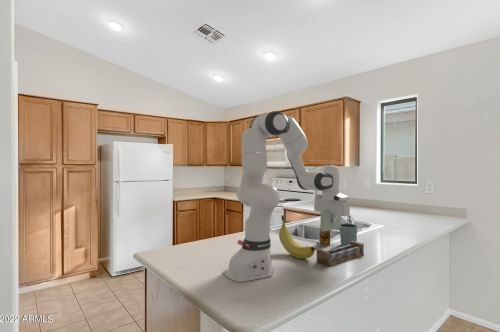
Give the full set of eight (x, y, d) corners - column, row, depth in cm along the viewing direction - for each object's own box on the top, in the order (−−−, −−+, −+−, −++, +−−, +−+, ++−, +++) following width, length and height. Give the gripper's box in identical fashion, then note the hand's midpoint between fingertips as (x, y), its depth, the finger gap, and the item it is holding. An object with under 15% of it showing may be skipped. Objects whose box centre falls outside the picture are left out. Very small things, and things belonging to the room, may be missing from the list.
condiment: (323, 246, 156) (322, 226, 156) (315, 242, 164) (315, 223, 164) (333, 245, 158) (333, 225, 158) (325, 241, 166) (325, 222, 166)
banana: (317, 261, 133) (317, 220, 133) (310, 263, 129) (309, 222, 129) (284, 250, 150) (284, 214, 150) (276, 252, 147) (276, 215, 147)
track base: (328, 266, 125) (328, 253, 125) (316, 262, 131) (316, 250, 131) (363, 255, 141) (363, 243, 141) (351, 251, 147) (351, 240, 147)
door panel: (323, 231, 136) (323, 211, 136) (320, 230, 138) (320, 211, 138) (340, 227, 144) (340, 209, 144) (337, 227, 146) (337, 208, 146)
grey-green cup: (354, 249, 151) (354, 227, 151) (336, 246, 157) (336, 225, 157) (359, 245, 159) (359, 224, 159) (342, 242, 165) (342, 222, 165)
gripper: (311, 194, 148) (311, 219, 148) (343, 198, 131) (343, 226, 131) (319, 193, 151) (319, 218, 151) (351, 197, 135) (351, 224, 135)
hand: (330, 222), depth 141 cm, fingers closed on door panel, 2 cm apart
